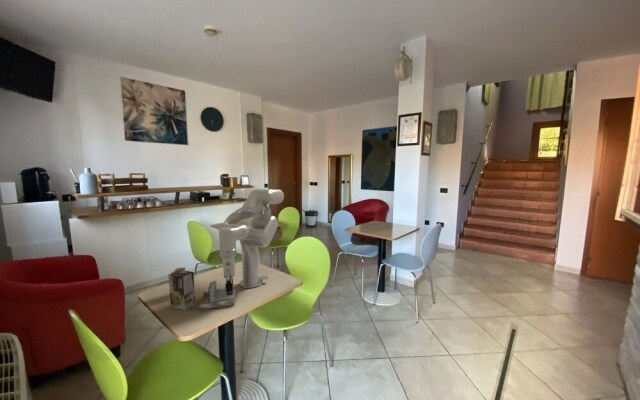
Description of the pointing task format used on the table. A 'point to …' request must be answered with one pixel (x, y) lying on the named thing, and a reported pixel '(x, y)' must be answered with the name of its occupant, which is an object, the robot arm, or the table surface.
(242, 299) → the table surface
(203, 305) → the press bed
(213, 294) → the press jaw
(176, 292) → the coffee box
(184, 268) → the character mug
